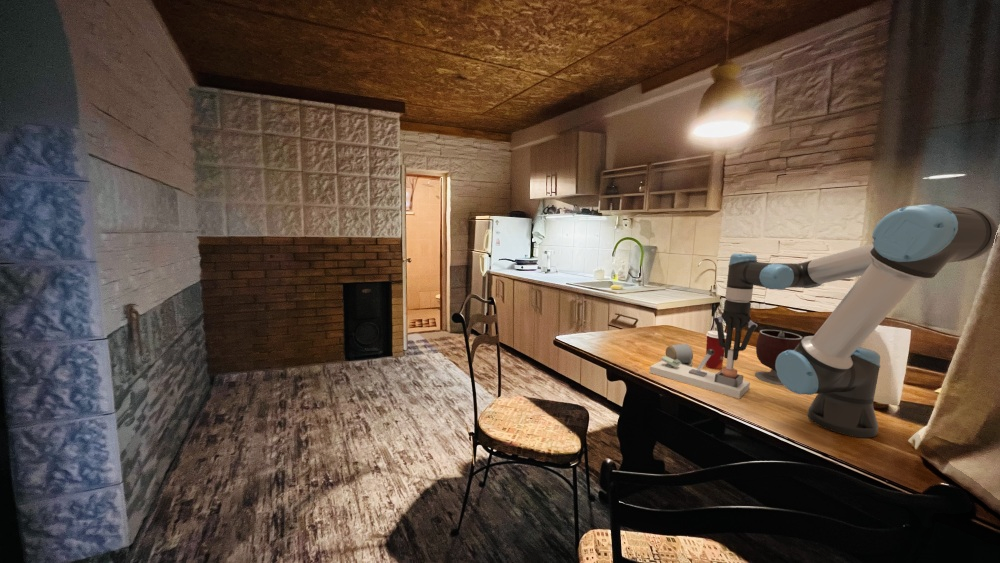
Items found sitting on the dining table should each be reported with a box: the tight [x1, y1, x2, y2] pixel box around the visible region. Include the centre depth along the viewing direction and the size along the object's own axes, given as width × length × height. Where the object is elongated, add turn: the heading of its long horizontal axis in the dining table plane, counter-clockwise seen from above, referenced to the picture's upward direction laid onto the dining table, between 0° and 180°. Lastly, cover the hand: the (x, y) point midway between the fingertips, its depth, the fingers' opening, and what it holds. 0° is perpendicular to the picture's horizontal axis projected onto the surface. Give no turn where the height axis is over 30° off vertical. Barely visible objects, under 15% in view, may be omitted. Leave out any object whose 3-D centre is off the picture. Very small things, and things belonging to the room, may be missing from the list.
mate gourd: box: [754, 329, 803, 386], centre depth 146 cm, size 16×14×20 cm
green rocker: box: [660, 355, 680, 367], centre depth 150 cm, size 6×4×2 cm, turn 45°
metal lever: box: [696, 349, 714, 371], centre depth 141 cm, size 2×2×9 cm
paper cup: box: [705, 330, 727, 370], centre depth 158 cm, size 8×8×14 cm
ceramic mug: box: [665, 343, 694, 367], centre depth 161 cm, size 11×8×8 cm
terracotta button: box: [721, 366, 738, 379], centre depth 136 cm, size 4×4×2 cm
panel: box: [649, 360, 751, 400], centre depth 143 cm, size 30×12×5 cm, turn 45°
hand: (729, 368), depth 136 cm, fingers closed
